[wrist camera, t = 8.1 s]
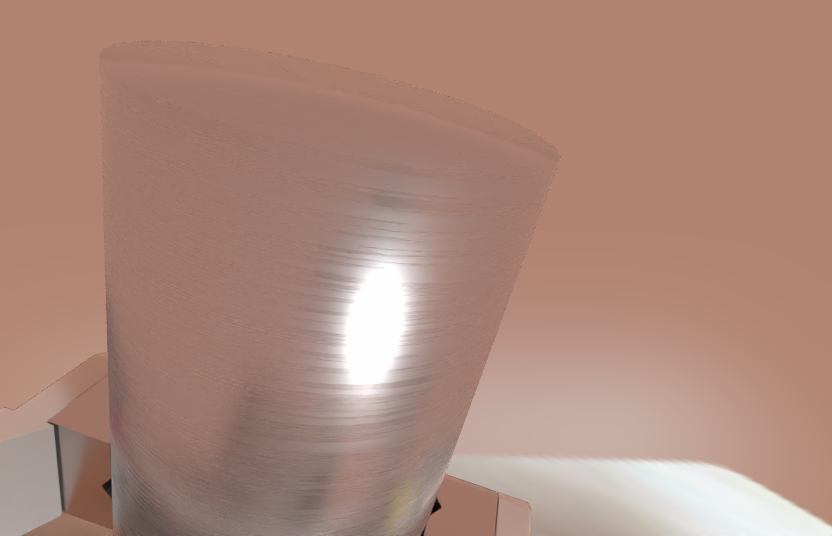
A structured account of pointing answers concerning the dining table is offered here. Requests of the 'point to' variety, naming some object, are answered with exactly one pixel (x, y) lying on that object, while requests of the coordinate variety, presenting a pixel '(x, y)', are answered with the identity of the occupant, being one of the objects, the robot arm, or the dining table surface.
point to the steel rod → (298, 287)
